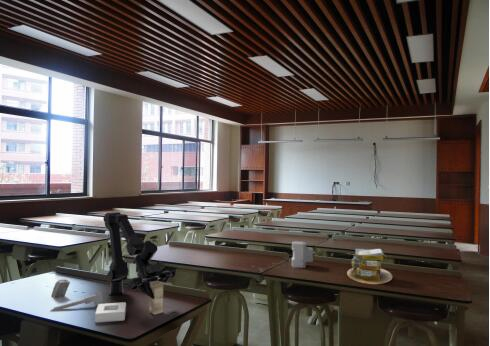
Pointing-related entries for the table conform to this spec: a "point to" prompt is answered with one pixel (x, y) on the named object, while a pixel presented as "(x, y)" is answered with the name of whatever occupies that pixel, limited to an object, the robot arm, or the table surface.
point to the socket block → (110, 312)
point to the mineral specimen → (60, 288)
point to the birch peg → (156, 298)
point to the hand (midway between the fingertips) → (158, 297)
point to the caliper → (85, 300)
